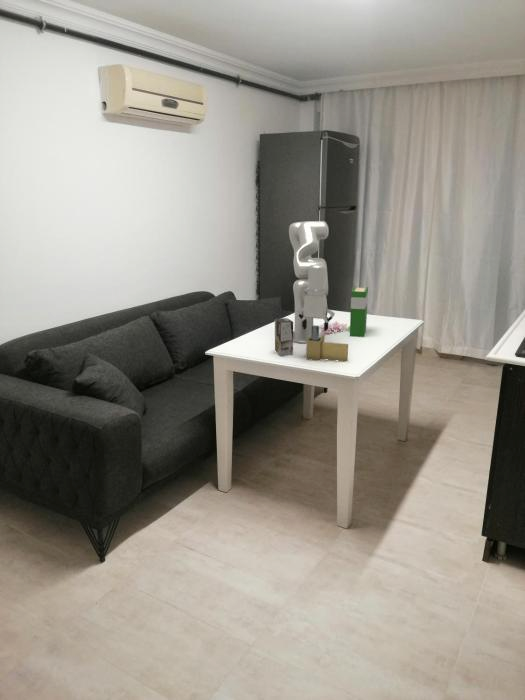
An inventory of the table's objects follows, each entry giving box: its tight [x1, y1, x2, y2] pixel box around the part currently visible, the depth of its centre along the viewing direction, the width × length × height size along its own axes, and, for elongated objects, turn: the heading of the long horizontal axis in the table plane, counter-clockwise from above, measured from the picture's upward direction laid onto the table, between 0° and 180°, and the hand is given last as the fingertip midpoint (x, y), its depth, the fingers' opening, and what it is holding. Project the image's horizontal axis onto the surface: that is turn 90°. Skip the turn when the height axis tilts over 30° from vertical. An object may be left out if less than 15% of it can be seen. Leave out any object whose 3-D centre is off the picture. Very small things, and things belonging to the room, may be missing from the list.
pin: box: [311, 325, 320, 341], centre depth 250 cm, size 3×3×15 cm
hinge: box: [306, 333, 349, 362], centre depth 254 cm, size 18×18×9 cm
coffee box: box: [274, 317, 294, 357], centre depth 258 cm, size 9×6×16 cm
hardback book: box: [349, 286, 369, 338], centre depth 295 cm, size 18×7×24 cm, turn 166°
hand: (315, 329), depth 249 cm, fingers open, 9 cm apart
